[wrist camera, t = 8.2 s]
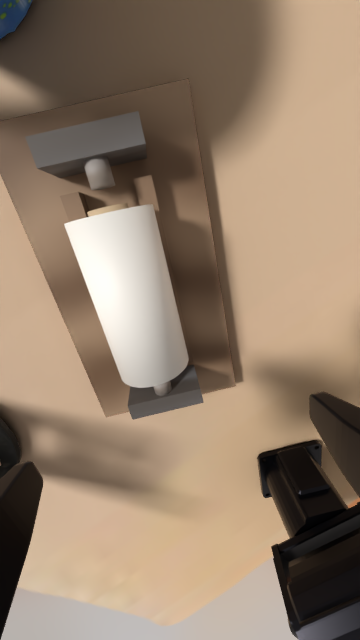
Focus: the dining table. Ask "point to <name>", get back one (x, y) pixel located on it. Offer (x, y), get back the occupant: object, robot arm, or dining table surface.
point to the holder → (8, 449)
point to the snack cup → (12, 14)
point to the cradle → (135, 189)
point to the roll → (131, 291)
